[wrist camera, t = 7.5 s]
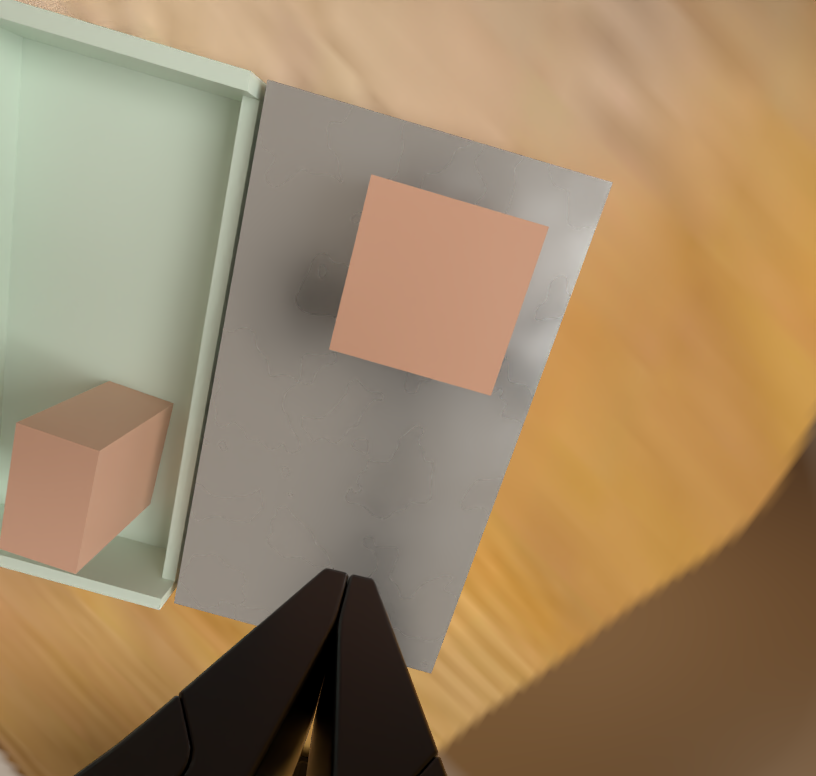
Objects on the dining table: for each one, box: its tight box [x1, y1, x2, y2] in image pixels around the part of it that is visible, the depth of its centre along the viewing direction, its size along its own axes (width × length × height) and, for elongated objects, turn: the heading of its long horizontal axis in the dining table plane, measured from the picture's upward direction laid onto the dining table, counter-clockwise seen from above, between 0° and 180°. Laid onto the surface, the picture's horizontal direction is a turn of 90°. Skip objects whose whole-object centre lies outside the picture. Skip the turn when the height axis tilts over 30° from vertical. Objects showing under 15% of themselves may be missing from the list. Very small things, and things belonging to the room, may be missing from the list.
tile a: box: [0, 381, 174, 574], centre depth 18 cm, size 4×4×2 cm
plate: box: [174, 80, 612, 673], centre depth 18 cm, size 18×10×2 cm, turn 164°
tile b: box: [329, 174, 549, 396], centre depth 15 cm, size 4×4×2 cm
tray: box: [0, 0, 267, 610], centre depth 18 cm, size 18×9×3 cm, turn 164°
